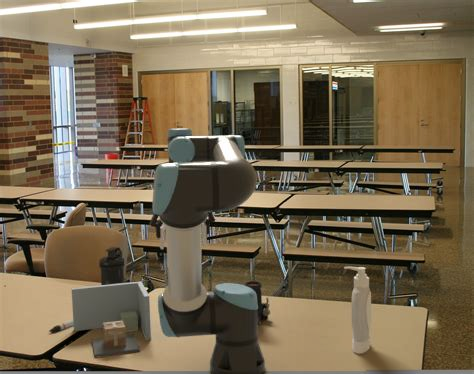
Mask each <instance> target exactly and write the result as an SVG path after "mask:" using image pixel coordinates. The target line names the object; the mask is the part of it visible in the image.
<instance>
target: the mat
mask: <svg viewBox="0 0 474 374" xmlns="http://www.w3.org/2000/svg"><path fill="white" fill-rule="evenodd" d="M91 345H92V349H94V350H93V354H94V355H93V356H94V358H98V357H97V356H101V357H106V356H107V357H108V356H115V355H121V354H122V355H123V354H131V353H139V352H140V347H139V344H138V342H137V339H136V336H135V333H132V334H131V333H130V334H126V346H122V347H115V348H107V349H106V347H105V343H104V337H98V338H97V337H96V338H91Z"/></svg>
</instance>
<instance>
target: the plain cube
mask: <svg viewBox="0 0 474 374" xmlns="http://www.w3.org/2000/svg"><path fill="white" fill-rule="evenodd" d="M120 319H121V321H122V320H123V322H124V325H125V333H128V332H129V333H130V332H137V331H139V324H138V318H137V314H136V311H132V312H123V313H120Z"/></svg>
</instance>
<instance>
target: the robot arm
mask: <svg viewBox="0 0 474 374" xmlns="http://www.w3.org/2000/svg"><path fill="white" fill-rule="evenodd" d="M166 139H167V156H168V157H167V158H168V163H160V164H159V165H158V166H156V168H155V171H154V178H153V179H154V180H153V192H152V205H151V206H152V213H153V214H152V216H151V219H150V222H149V226H151V227H153V228H155V237H156V239H159V248H160V250H164V249H165V246H164V244H165V243H164V228H163V227H162V226H163V225H165V231H166V232H165V233H166V234H165V236H166V255H167V256H166V258H167V259H166V261H167V280H168V281H167V283H168V284H167V286H165V288H164V290H163V293H160V294H159V295H158V297H157V309H158V316H159V325H160V329H161V332H162V334H163V335H164V336H165V337H168V338H169V337H170V338H184V337H197V336H199V337H201V336H213V335H215V342H214V343H215V344H214V347H213V351H212V353H211V357H210V360H209V371H210V372H211V374H263V373H264V372H265V368H266V361H265V360H266V359H265V358H264V354H263V351H262V349H261V346H260V344H259V343H260V342H259V330H258V329H259V328H258V327H259V326H258V312H257V309H258V304H257V295H256V292H255V291H254V290H253V289H251V288H250V287H247V286H245V284H239V283H232V282H224V283H219V284H216V285H215V286H214V288H213V290H211V291H207V288H206V287H205V285H204V284H203V283H202V245H203V246H208V241H207V240H208V239H207V238H208V236H207V235H210V232H211V231H210V225H211V223H215V222H216V218H215V217H214V215H213V213H219V212H227V211H231V210H233V209H236V208H238V207H240V206H241V205H243V204H244V203H245V202H246V201H248V200H249V199H250V198H251V196H252V195H253V193H254V192H255V190H256V187H257V184H258V176H257V172H256V169H255V168H254V166H253V165H252V164H251V162H249V161H248V160H247V159H245V154H246V153H245V152H246V150H245V149H246V148H245V147H246V146H245V138H244V136H242V135H236V134H235V135H234V134H229V135H196V136H194V135H193V131H192V129H190V128H186V127H185V128H182V127H181V128H169V129H168V130H167V138H166ZM157 220H158V221H157Z"/></svg>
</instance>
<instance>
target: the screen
mask: <svg viewBox="0 0 474 374" xmlns="http://www.w3.org/2000/svg"><path fill="white" fill-rule="evenodd" d="M71 302H72V303H71V304H72V320H73V324H74V325H73V332H79V331H85V330H87V331H88V330H94V329H95V330H96V329H102V328H103V323H105V322H114V321H121V319H120V313H123V312H132V311H136V314H137V318H138V325H139V327H140V329H141V332H142V333H143V335H144V339H145V340H146V341H149V340H152V334H151V333H152V332H151V331H152V330H151V329H152V328H151V327H152V326H151V310H150V309H151V307H150V306H151V305H150V295H149V292H148V291H147V289H146V288H145V285H144V283H143V281H134V282H132V281H131V282H124V283H120V284H110V285H101V284H100V285H92V286H91V285H90V286H82V287H72V288H71Z"/></svg>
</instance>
